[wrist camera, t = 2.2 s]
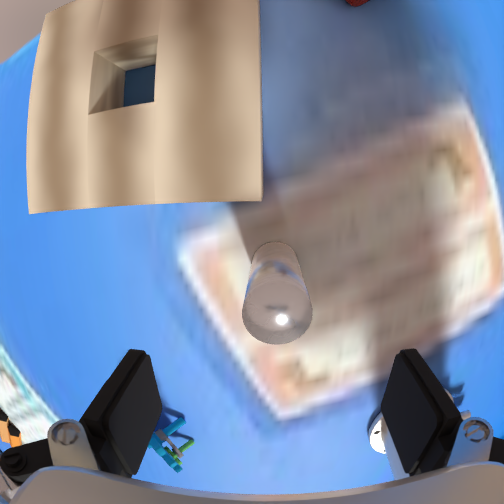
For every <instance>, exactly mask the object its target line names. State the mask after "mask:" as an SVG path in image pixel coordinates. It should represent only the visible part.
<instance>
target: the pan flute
mask: <svg viewBox="0 0 504 504" xmlns="http://www.w3.org/2000/svg"><path fill="white" fill-rule="evenodd" d="M0 436H1V439H2V441H3V442H7V443H10V445H11V447H16V446H20V445H22V443H21V432H20V431H19V430H18V429H17V428H16V427H14V426H13V425H10V426H9V418H8V416H7V415H6V414H5V413H4V412H3V411H2V410H1V409H0Z"/></svg>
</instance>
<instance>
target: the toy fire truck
mask: <svg viewBox="0 0 504 504" xmlns="http://www.w3.org/2000/svg"><path fill="white" fill-rule="evenodd" d="M345 1H347V2H348V3H349V4H350V5H351V6H354V7H356V6H360V5H362V4H364V3H366V2H368V1H369V0H345Z"/></svg>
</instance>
